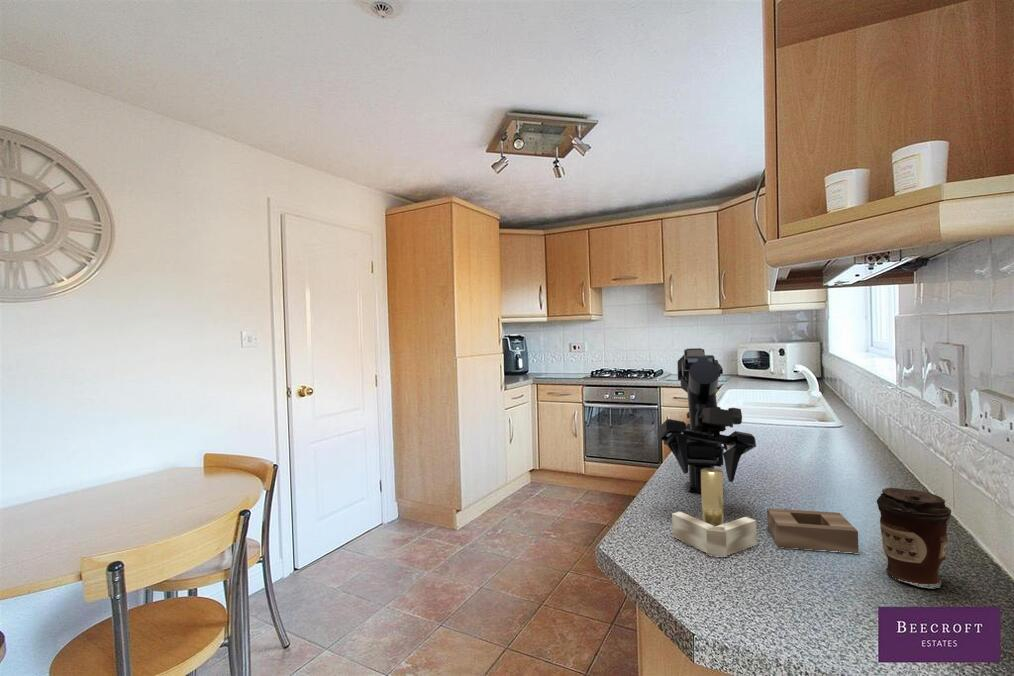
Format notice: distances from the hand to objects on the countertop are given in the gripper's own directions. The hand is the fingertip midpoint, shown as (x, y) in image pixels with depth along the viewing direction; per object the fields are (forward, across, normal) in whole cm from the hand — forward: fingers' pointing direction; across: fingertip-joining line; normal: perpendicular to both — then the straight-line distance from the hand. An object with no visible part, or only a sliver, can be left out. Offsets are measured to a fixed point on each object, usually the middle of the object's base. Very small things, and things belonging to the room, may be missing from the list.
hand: (708, 477), depth 94 cm
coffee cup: (+16, +22, -17) cm, 32 cm away
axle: (+12, -1, -2) cm, 13 cm away
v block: (+14, -2, -3) cm, 14 cm away
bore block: (+10, +16, -5) cm, 19 cm away
